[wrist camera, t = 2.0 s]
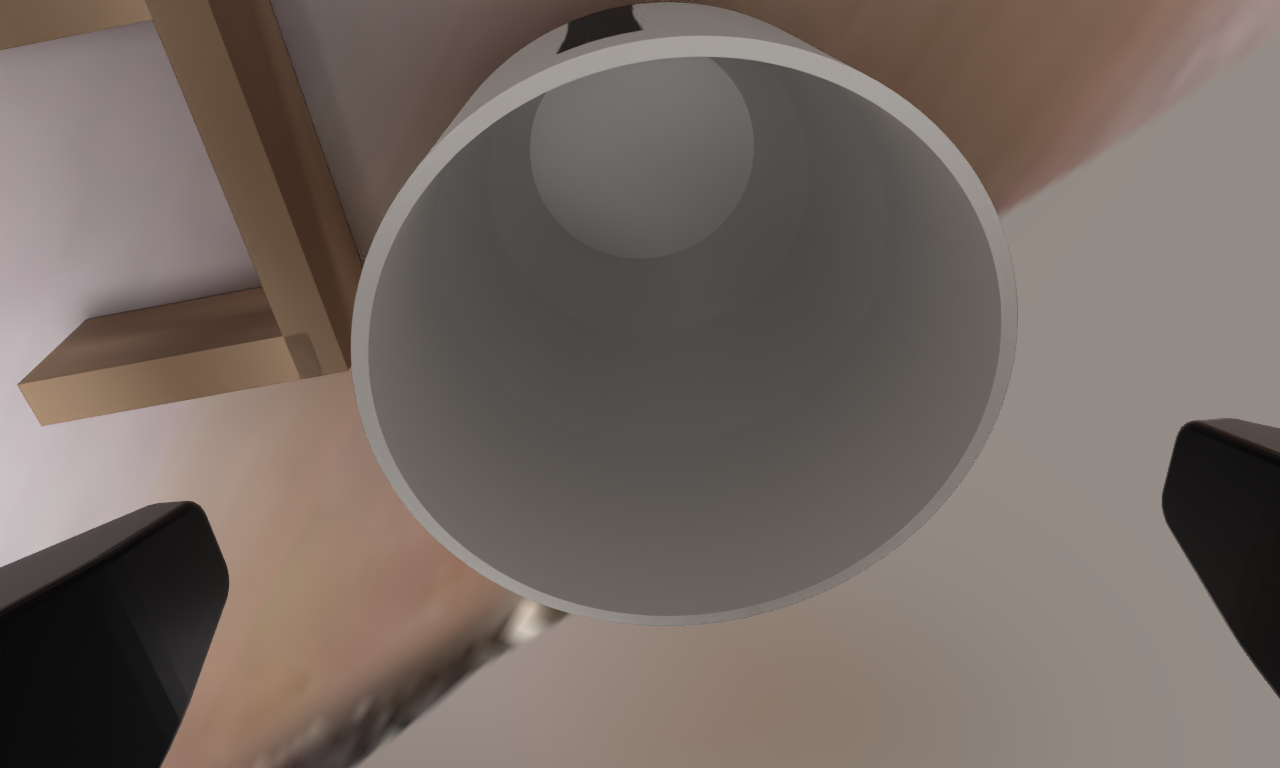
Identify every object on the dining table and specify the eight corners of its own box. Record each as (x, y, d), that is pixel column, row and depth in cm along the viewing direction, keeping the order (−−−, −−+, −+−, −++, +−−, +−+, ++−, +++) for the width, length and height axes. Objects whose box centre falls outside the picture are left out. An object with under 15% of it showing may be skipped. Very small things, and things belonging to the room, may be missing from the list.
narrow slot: (105, 357, 22) (41, 426, 19) (-85, -5, 18) (-198, 20, 15) (377, 308, 22) (348, 370, 19) (244, -71, 18) (185, -58, 15)
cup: (632, -153, 17) (680, -155, 9) (907, 139, 20) (1148, 355, 12) (376, 168, 20) (217, 412, 11) (652, 384, 23) (693, 708, 14)
